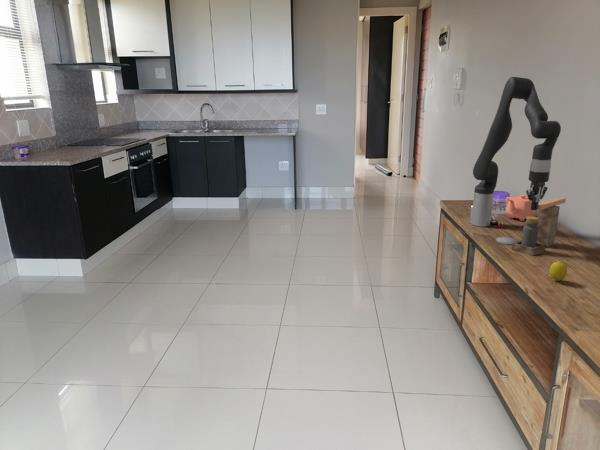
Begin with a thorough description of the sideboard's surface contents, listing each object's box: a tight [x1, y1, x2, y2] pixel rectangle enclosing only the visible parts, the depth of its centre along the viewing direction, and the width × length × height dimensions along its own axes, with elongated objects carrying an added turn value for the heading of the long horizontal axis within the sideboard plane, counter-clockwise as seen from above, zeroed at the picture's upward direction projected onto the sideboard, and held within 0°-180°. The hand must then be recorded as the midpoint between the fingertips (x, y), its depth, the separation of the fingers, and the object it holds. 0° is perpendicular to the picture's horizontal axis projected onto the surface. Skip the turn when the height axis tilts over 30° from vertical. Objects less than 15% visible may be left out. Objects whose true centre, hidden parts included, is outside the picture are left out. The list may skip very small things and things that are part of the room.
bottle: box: [521, 216, 539, 248], centre depth 192 cm, size 6×6×15 cm
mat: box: [495, 236, 520, 246], centre depth 206 cm, size 10×10×1 cm
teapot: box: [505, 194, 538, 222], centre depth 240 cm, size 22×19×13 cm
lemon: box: [549, 260, 568, 282], centre depth 162 cm, size 6×6×8 cm
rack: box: [511, 205, 561, 256], centre depth 195 cm, size 10×21×18 cm, turn 124°
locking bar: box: [537, 196, 567, 210], centre depth 196 cm, size 3×21×2 cm, turn 124°
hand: (534, 209), depth 190 cm, fingers closed
